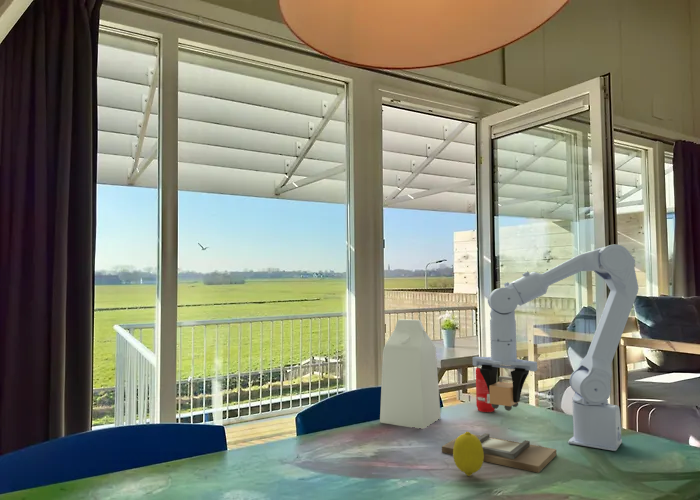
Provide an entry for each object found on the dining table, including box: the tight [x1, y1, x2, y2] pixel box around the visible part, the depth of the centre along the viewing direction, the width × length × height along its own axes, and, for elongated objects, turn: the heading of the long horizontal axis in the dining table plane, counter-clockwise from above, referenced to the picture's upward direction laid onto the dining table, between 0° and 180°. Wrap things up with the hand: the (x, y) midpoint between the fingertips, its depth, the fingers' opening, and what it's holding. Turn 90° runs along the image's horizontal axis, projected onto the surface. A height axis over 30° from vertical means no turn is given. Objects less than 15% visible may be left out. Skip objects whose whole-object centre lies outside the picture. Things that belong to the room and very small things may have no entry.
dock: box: [441, 433, 557, 473], centre depth 106 cm, size 20×12×2 cm, turn 53°
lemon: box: [452, 431, 484, 477], centre depth 95 cm, size 6×6×8 cm
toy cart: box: [489, 375, 521, 412], centre depth 117 cm, size 6×5×6 cm
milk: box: [379, 318, 441, 430], centre depth 134 cm, size 12×12×26 cm
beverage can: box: [475, 366, 496, 413], centre depth 143 cm, size 5×5×12 cm
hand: (504, 400), depth 117 cm, fingers closed on toy cart, 5 cm apart
